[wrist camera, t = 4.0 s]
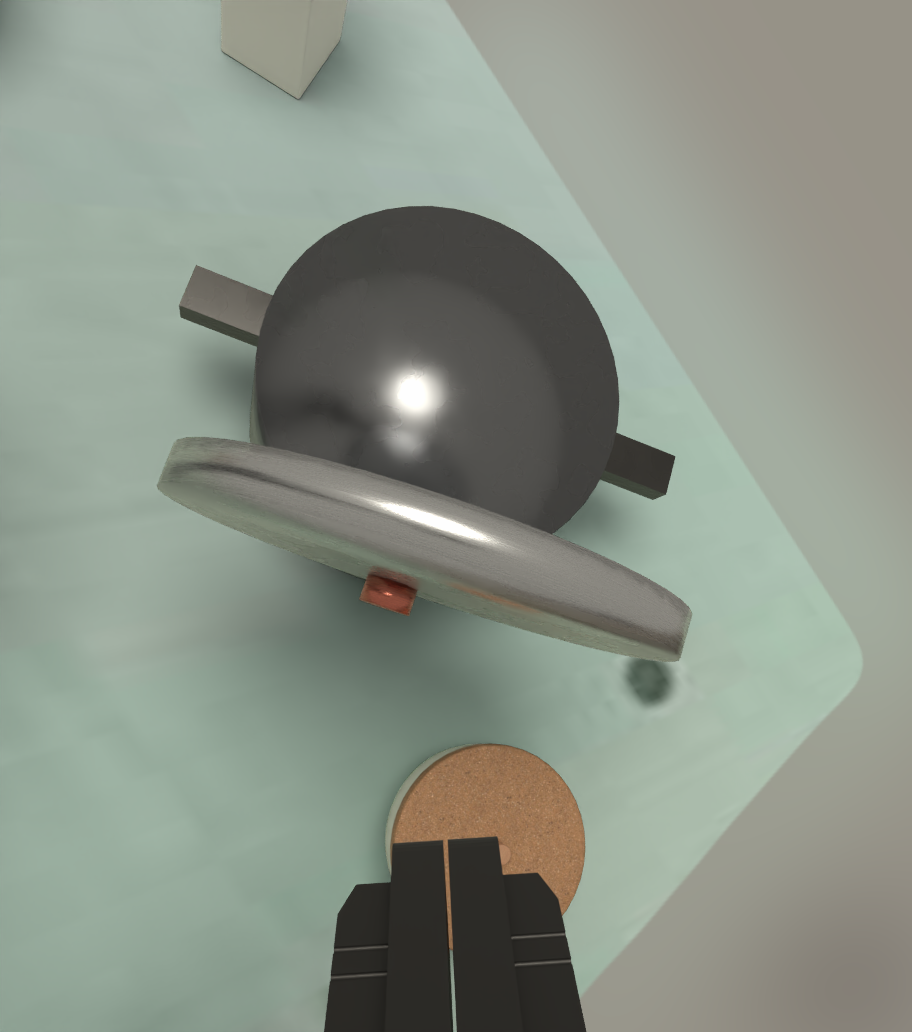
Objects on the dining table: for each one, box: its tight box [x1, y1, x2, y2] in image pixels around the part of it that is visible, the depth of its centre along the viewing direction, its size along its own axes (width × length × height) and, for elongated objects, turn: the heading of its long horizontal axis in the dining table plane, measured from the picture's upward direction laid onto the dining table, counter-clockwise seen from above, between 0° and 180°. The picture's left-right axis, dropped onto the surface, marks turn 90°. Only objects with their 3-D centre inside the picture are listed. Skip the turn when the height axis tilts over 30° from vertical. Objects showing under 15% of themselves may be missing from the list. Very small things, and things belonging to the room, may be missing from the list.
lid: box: [157, 437, 692, 662], centre depth 34 cm, size 20×20×3 cm
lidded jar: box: [385, 744, 585, 950], centre depth 49 cm, size 11×11×9 cm
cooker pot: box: [179, 206, 675, 580], centre depth 51 cm, size 21×28×11 cm
